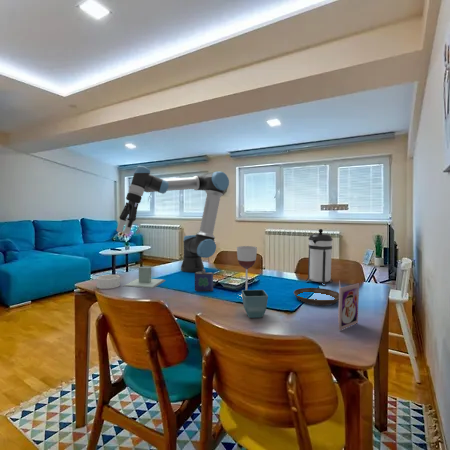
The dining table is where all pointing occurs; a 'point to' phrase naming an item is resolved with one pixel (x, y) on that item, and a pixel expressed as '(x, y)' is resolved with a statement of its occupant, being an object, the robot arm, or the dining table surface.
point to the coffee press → (320, 257)
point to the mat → (145, 287)
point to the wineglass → (246, 258)
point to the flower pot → (254, 302)
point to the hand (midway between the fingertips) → (122, 232)
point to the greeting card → (348, 305)
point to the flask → (203, 281)
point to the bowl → (108, 281)
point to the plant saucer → (316, 302)
